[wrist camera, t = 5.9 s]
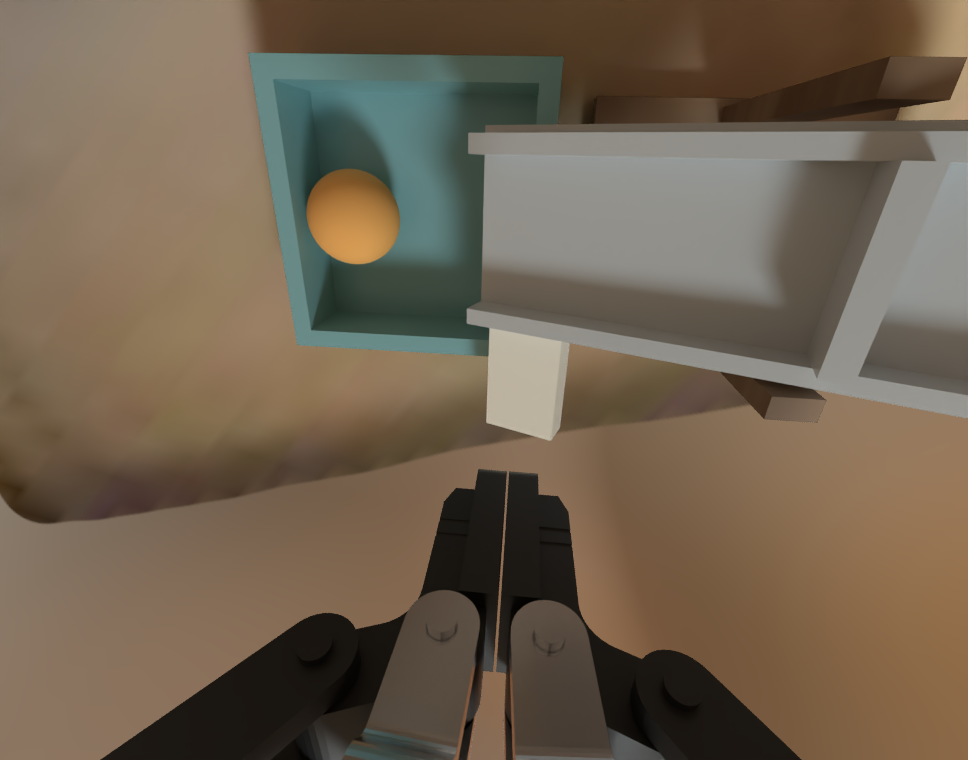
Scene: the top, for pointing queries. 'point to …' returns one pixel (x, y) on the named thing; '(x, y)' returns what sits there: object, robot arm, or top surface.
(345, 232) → the ball
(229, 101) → the top surface
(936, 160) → the chute
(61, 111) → the top surface
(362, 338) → the teal square tray
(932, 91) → the stand
